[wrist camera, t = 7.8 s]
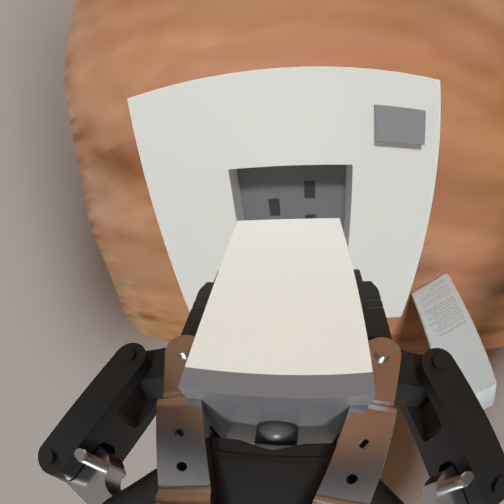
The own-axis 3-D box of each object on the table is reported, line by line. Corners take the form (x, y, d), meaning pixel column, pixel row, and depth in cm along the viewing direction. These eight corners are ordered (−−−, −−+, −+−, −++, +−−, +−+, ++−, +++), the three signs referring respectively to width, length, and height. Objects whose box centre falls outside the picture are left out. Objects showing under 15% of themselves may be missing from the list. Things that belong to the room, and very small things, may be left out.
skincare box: (458, 305, 21) (494, 404, 12) (425, 324, 23) (451, 426, 14) (447, 269, 19) (498, 384, 10) (409, 292, 21) (444, 412, 12)
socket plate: (421, 79, 12) (443, 80, 9) (394, 295, 22) (402, 320, 19) (147, 94, 15) (123, 99, 13) (199, 296, 25) (190, 320, 23)
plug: (339, 218, 11) (377, 418, 4) (333, 294, 14) (342, 458, 7) (237, 220, 12) (171, 408, 5) (249, 294, 15) (215, 452, 8)
